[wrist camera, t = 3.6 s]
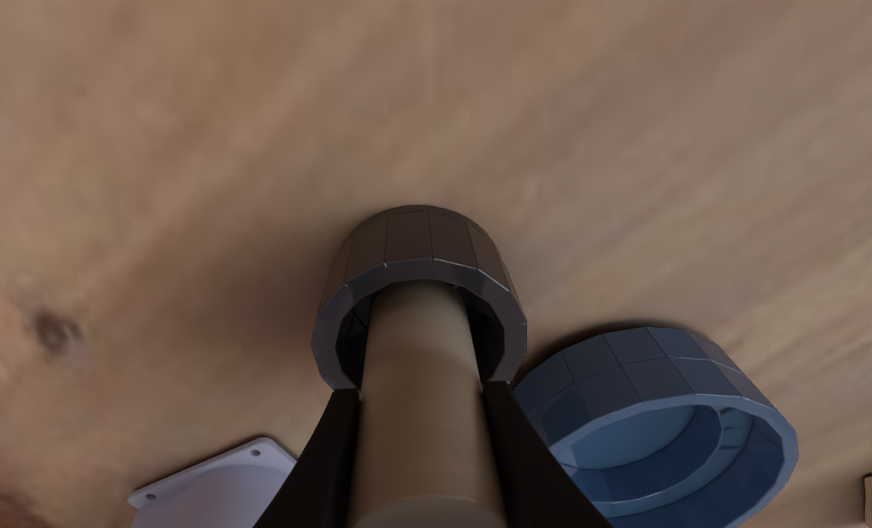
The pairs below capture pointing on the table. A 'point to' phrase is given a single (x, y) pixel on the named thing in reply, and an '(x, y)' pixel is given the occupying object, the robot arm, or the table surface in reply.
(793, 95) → the table surface
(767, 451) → the bowl
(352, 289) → the mortar
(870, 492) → the coffeecake box
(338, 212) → the table surface
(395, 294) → the pestle
